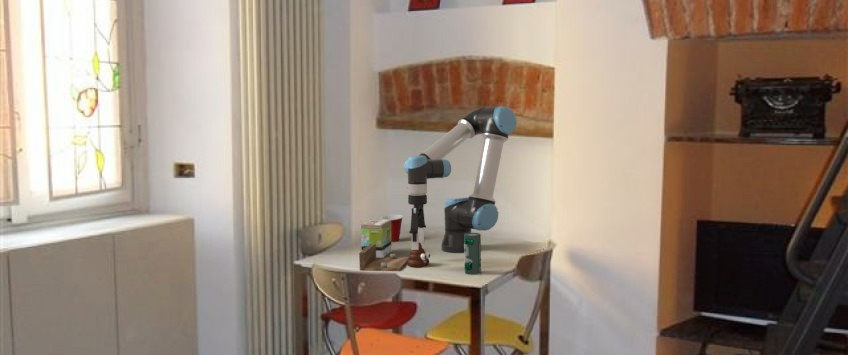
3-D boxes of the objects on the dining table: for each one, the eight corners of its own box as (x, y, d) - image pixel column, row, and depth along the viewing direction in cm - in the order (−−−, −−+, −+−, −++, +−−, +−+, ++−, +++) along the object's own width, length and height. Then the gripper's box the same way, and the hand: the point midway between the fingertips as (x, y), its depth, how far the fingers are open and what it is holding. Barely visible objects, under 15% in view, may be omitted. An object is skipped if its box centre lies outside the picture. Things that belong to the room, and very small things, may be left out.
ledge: (408, 260, 312) (408, 243, 311) (399, 271, 292) (399, 253, 291) (371, 259, 314) (371, 243, 314) (359, 270, 295) (359, 253, 294)
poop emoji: (416, 262, 308) (415, 239, 307) (434, 263, 304) (433, 241, 303) (403, 266, 300) (402, 244, 299) (421, 268, 295) (421, 245, 295)
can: (464, 271, 289) (463, 233, 288) (479, 270, 289) (479, 232, 288) (466, 274, 283) (465, 235, 282) (481, 274, 283) (481, 235, 282)
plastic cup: (376, 241, 355) (375, 216, 354) (391, 238, 364) (390, 213, 363) (394, 243, 349) (393, 218, 348) (408, 240, 357) (407, 215, 356)
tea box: (383, 259, 316) (382, 224, 314) (361, 258, 318) (359, 224, 316) (392, 251, 330) (391, 218, 329) (370, 251, 332) (369, 218, 331)
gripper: (413, 190, 312) (414, 241, 314) (402, 197, 287) (402, 252, 289) (431, 191, 311) (431, 241, 312) (421, 197, 286) (421, 252, 288)
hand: (417, 246), depth 301 cm, fingers open, 13 cm apart
